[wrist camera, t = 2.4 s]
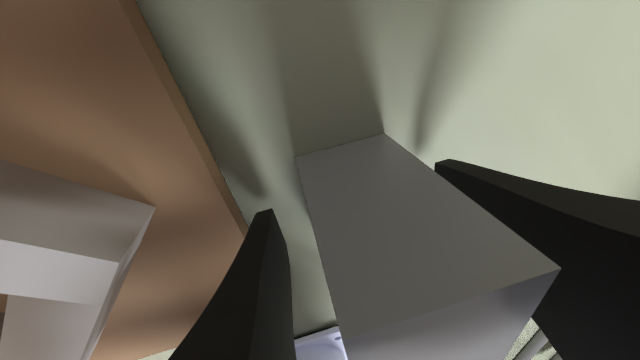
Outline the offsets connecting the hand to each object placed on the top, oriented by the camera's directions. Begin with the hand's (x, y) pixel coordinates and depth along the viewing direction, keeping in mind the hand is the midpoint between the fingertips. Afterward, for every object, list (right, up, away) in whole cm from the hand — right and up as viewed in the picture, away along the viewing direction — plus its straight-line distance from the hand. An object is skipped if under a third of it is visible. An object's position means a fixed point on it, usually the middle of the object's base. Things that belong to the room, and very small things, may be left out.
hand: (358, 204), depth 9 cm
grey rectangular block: (0, +1, +1) cm, 2 cm away
